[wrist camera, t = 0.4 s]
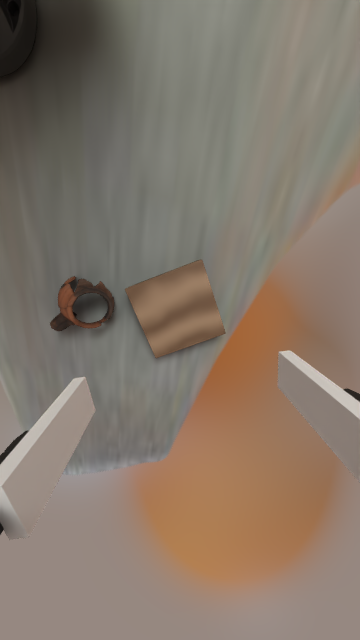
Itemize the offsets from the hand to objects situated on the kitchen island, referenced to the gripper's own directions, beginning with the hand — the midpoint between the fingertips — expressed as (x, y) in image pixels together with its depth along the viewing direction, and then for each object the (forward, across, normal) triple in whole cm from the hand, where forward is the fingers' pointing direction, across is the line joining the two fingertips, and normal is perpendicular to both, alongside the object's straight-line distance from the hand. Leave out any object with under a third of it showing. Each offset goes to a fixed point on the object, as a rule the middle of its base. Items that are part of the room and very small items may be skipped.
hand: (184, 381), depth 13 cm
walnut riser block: (+27, 0, -1) cm, 27 cm away
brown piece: (+28, -19, +3) cm, 34 cm away
